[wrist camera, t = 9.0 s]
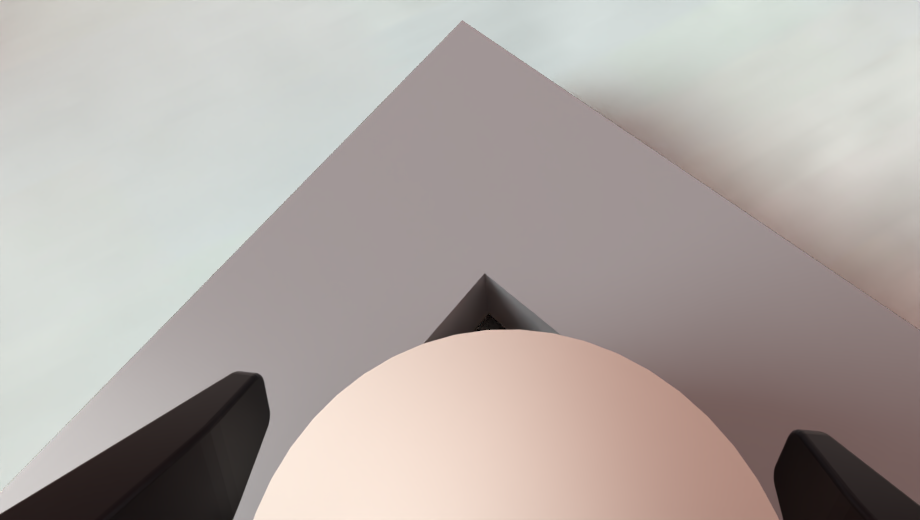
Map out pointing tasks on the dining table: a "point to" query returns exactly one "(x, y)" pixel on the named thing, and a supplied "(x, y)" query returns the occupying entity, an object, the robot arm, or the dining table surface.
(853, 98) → the dining table surface
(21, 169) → the dining table surface
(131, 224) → the dining table surface
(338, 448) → the pink cylinder peg
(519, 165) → the well block
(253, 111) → the dining table surface
